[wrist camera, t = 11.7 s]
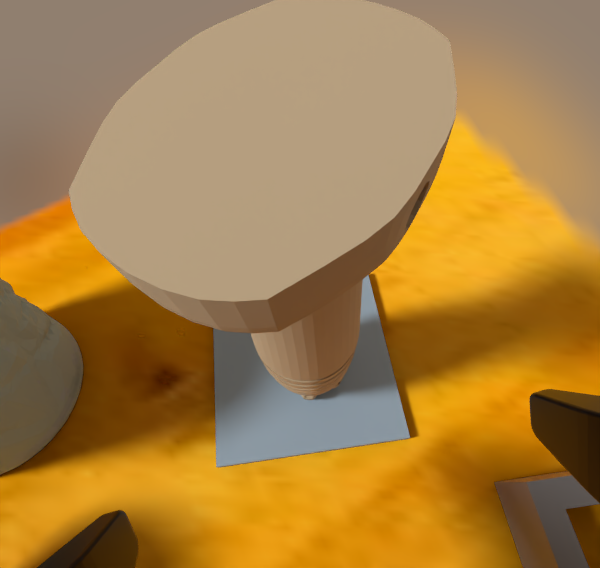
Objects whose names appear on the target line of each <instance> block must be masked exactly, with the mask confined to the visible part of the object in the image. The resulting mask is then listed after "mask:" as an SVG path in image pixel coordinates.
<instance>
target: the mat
mask: <svg viewBox="0 0 600 568" xmlns="http://www.w3.org/2000/svg"><path fill="white" fill-rule="evenodd" d="M213 334H214V378H215V423H216V467H226V466H232V465H239V464H245V463H252V462H259V461H265V460H272V459H278V458H285V457H292V456H298V455H305V454H311V453H318V452H324V451H331V450H338V449H344V448H351V447H357V446H364V445H371V444H377V443H384V442H390V441H397V440H404V439H409V438H410V435H409V431H408V427H407V423H406V419H405V415H404V412H403V408H402V404H401V400H400V396H399V392H398V388H397V384H396V380H395V376H394V373H393V369H392V365H391V361H390V357H389V353H388V349H387V345H386V341H385V338H384V334H383V330H382V326H381V322H380V318H379V314H378V310H377V306H376V303H375V299H374V295H373V291H372V287H371V283H370V279H369V275H367V276H366V277H365V278H364V279H363V282H362V297H361V315H360V331H359V338H358V342H357V346H356V349H355V353H354V356H353V359H352V361H351V363H350V366H349V368H348V370H347V372H346V373H345V375H344V377H343V380H342V381H341V383H340V384H339V386H338V387H336V388H334V389H333V388H332V389H331V390H329V391H327V392H325V393H323V394H320V395H317V396H316V397H315V399H314V400H306V399H303V397H302V396H301V395H299V394H296V393H293V392H291V391H290V390H288V389H286V388H285V387H283V386H282V385H281V384H279V383H278V382H277V381H276V380H275V378H274V377H273V376H272V375H271V374H270V373H269V372H268V370H267V369H266V367H265V366H264V364H263V362H262V360H261V359H260V356H259V355H258V352H257V350H256V348H255V345H254V342H253V339H252V336H251V333H240V332H225V331H222V330H218V329H215V328H213Z"/></svg>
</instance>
